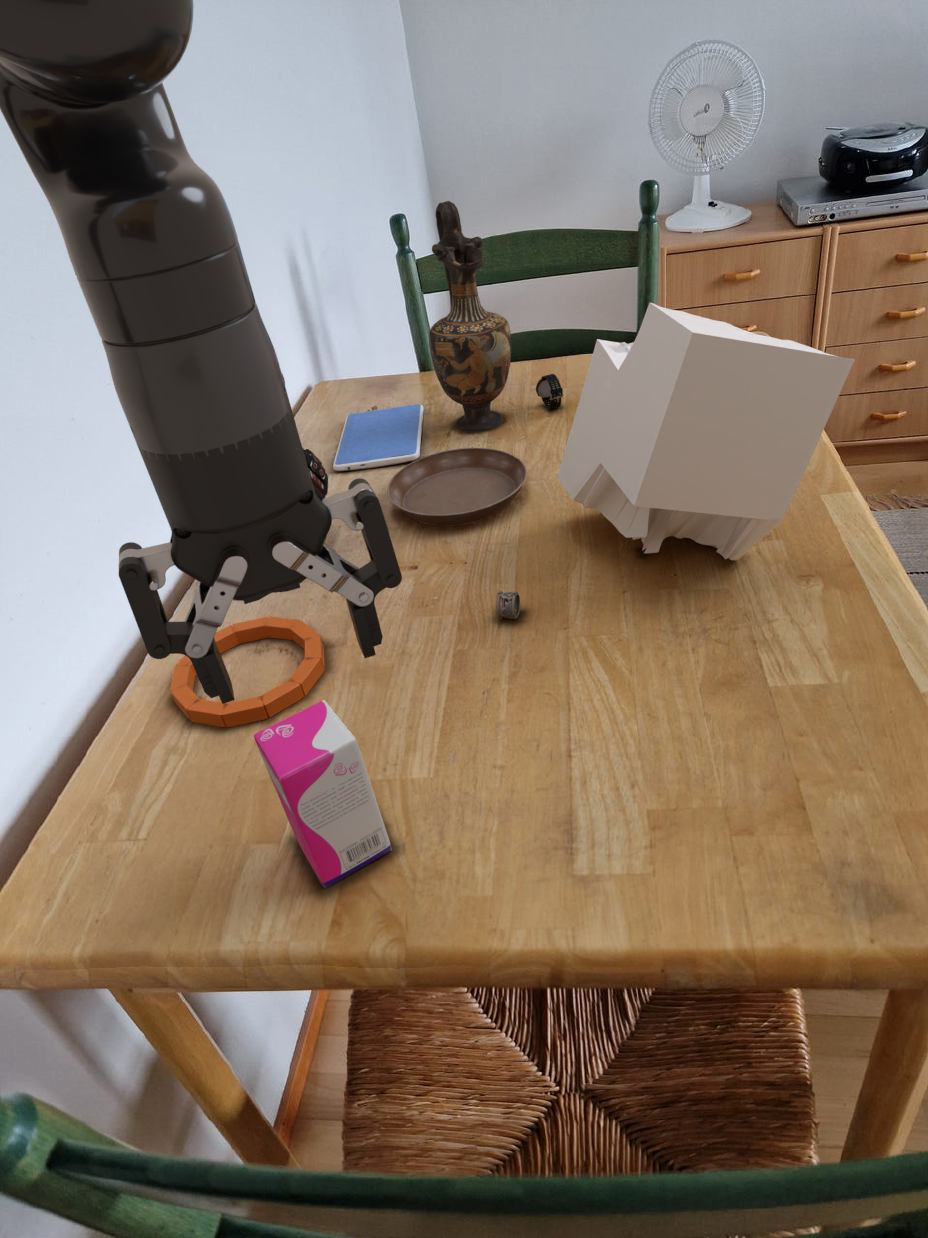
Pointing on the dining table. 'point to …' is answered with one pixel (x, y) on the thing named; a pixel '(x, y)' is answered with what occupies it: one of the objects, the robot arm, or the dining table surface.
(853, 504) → the dining table surface
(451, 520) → the plant saucer
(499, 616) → the decorative ring
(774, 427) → the notched white block
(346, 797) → the supplement box
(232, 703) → the ring
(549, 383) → the smartwatch
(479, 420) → the vase
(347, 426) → the tablet
